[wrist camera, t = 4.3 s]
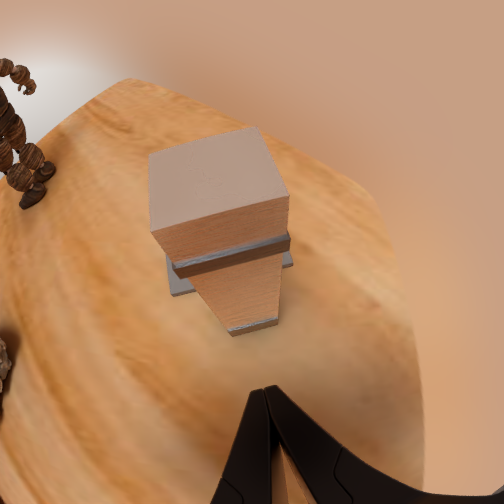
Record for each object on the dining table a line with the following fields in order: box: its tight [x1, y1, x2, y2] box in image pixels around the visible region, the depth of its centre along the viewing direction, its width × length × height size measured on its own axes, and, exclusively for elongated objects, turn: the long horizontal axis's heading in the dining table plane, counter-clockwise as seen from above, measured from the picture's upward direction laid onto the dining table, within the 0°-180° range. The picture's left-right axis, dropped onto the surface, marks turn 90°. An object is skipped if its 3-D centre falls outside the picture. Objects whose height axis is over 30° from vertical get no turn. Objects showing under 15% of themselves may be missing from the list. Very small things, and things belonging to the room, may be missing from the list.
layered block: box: [149, 126, 291, 337], centre depth 14 cm, size 3×4×15 cm
